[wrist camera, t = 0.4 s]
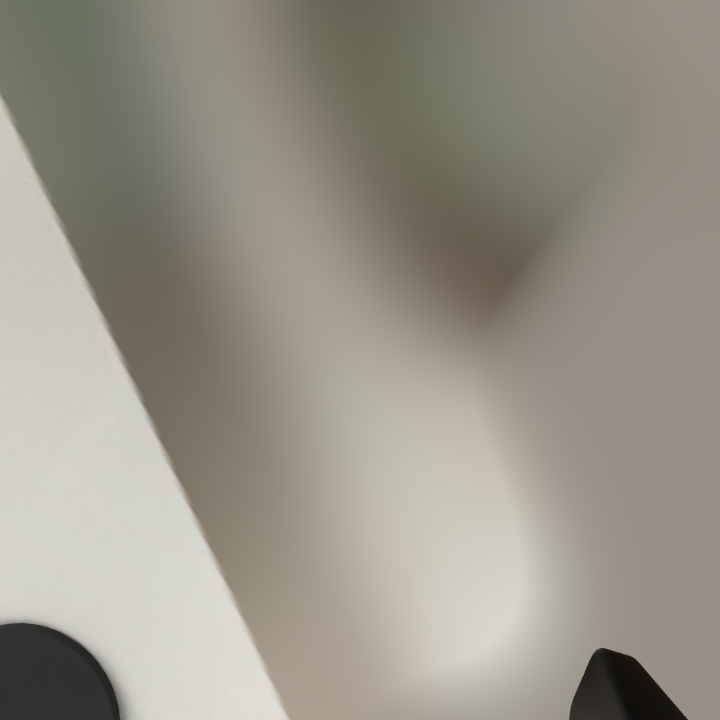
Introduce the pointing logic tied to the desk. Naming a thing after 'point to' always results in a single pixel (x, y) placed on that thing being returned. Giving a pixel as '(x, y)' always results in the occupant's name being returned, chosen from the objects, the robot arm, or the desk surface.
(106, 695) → the coaster
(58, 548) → the desk surface
